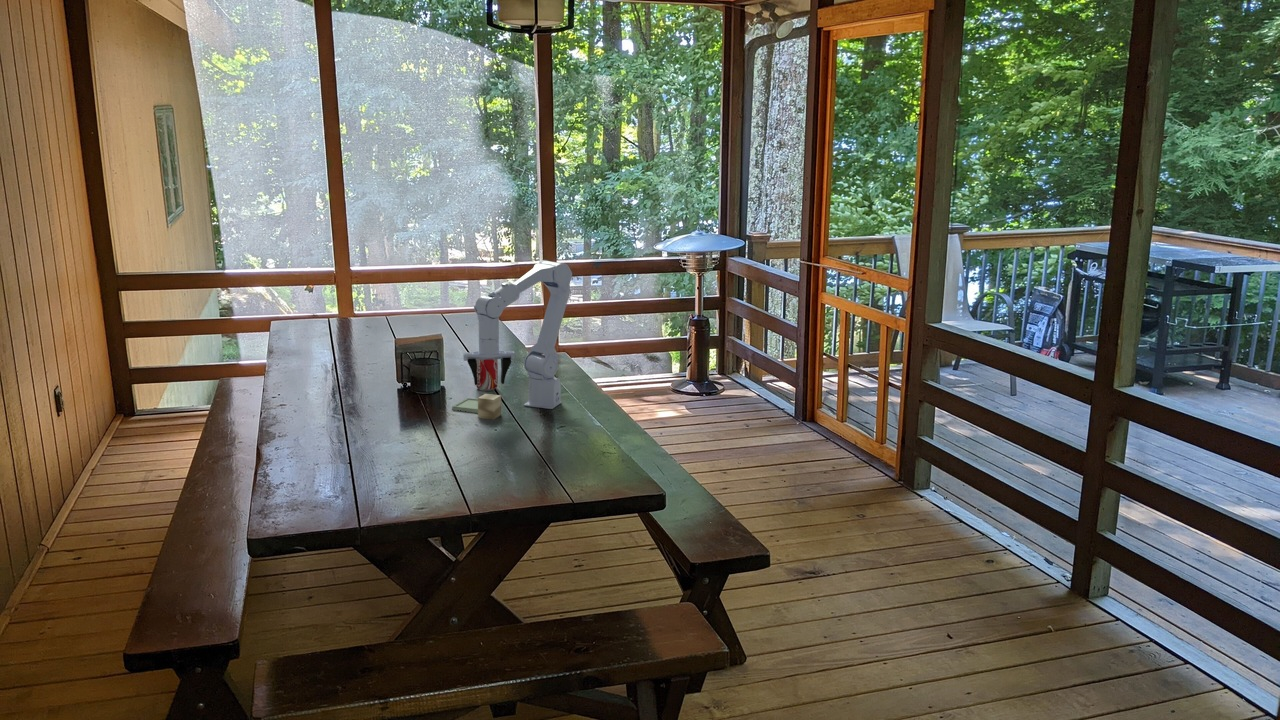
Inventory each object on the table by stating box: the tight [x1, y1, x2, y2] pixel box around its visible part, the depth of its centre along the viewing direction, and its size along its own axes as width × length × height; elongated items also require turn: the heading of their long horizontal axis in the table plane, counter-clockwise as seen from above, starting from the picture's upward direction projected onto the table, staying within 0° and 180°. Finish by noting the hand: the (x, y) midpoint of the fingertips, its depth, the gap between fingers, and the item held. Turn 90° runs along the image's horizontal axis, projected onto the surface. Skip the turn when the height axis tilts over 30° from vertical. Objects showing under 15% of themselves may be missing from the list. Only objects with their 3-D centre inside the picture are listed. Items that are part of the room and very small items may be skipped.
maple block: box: [477, 393, 502, 420], centre depth 272 cm, size 5×5×6 cm
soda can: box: [475, 359, 499, 392], centre depth 300 cm, size 7×7×12 cm
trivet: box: [451, 397, 478, 414], centre depth 281 cm, size 10×10×1 cm
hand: (489, 383), depth 270 cm, fingers open, 7 cm apart
